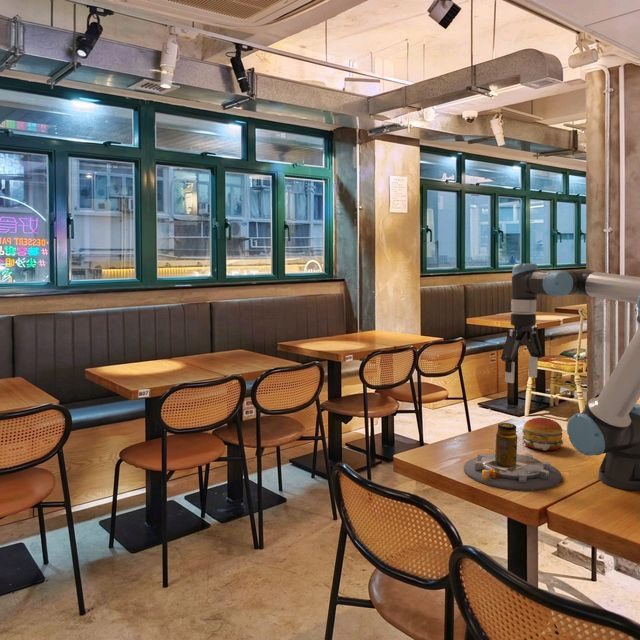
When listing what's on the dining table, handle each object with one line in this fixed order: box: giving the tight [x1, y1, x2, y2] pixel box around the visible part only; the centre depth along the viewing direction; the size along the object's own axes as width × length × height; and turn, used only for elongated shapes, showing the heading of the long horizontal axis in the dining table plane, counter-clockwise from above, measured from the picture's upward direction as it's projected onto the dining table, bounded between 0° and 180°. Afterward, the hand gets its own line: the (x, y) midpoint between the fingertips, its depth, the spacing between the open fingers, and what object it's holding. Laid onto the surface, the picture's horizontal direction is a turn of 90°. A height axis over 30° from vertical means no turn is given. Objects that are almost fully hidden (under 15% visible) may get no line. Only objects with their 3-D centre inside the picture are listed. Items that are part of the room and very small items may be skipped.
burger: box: [521, 417, 564, 451], centre depth 212 cm, size 13×14×10 cm
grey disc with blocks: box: [474, 435, 552, 482], centre depth 186 cm, size 22×22×8 cm
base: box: [463, 456, 563, 491], centre depth 186 cm, size 28×28×4 cm
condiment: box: [485, 422, 522, 470], centre depth 183 cm, size 7×8×12 cm
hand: (521, 379), depth 196 cm, fingers open, 13 cm apart
